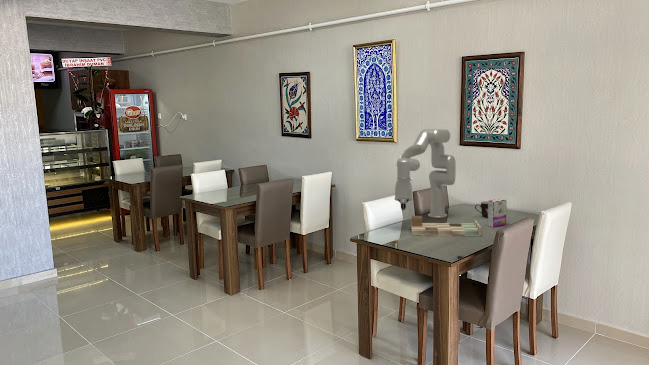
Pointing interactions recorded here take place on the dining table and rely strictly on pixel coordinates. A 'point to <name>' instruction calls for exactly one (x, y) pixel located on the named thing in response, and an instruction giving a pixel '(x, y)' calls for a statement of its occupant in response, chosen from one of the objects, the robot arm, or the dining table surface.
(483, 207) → the coffee mug
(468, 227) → the trap deck
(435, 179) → the robot arm
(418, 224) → the walnut block
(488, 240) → the dining table surface
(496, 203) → the candy bar box
